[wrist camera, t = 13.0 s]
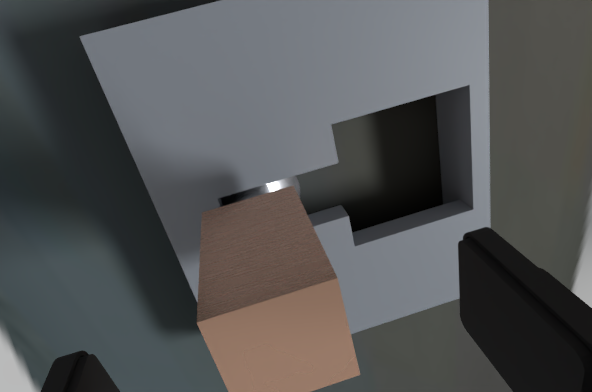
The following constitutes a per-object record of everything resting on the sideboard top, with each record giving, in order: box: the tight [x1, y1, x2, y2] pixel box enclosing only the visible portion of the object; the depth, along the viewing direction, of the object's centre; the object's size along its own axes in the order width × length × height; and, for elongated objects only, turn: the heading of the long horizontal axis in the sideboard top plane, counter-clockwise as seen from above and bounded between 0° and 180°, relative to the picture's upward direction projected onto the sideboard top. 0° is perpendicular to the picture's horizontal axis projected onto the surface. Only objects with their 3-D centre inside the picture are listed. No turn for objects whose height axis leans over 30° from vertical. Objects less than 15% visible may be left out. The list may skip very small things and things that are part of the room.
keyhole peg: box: [197, 176, 360, 392], centre depth 16 cm, size 5×5×11 cm
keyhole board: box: [79, 0, 490, 334], centre depth 19 cm, size 17×15×3 cm
